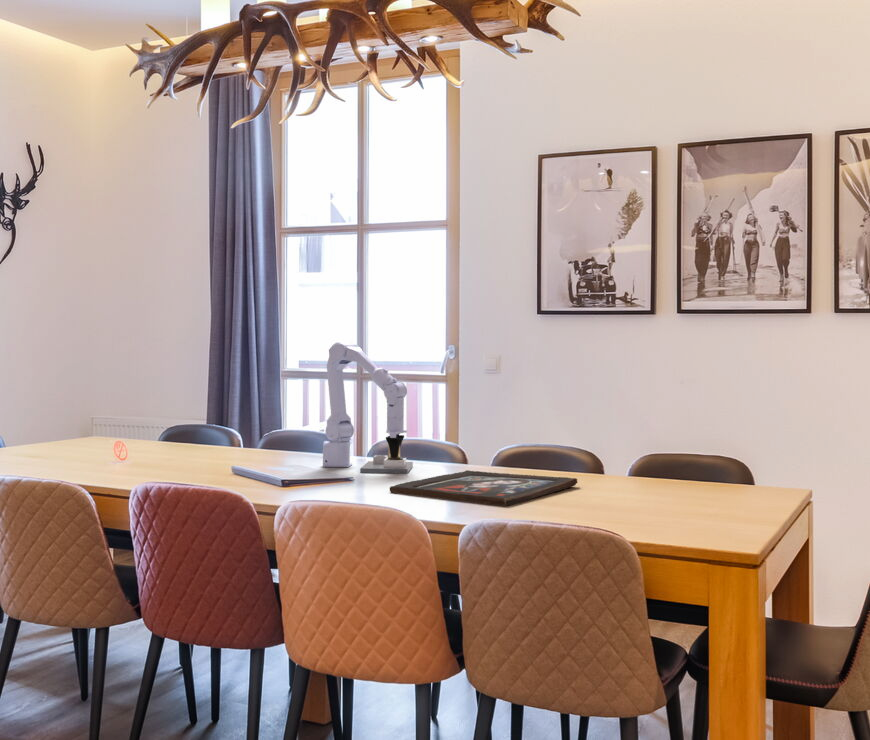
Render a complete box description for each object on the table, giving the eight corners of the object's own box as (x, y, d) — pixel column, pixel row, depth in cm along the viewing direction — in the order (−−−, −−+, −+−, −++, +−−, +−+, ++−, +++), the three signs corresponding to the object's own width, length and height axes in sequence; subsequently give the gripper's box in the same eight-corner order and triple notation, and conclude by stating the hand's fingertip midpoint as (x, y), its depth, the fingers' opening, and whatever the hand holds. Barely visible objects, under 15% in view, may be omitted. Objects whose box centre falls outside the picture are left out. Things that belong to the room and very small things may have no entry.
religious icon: (580, 486, 266) (580, 476, 266) (508, 509, 229) (508, 497, 229) (468, 477, 289) (468, 467, 289) (386, 496, 252) (386, 485, 251)
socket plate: (360, 472, 293) (360, 460, 293) (368, 465, 313) (368, 454, 313) (407, 473, 292) (407, 461, 292) (412, 466, 312) (412, 454, 312)
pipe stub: (388, 463, 298) (388, 446, 298) (388, 462, 302) (388, 444, 302) (400, 463, 298) (400, 446, 298) (400, 462, 302) (400, 444, 302)
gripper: (404, 419, 292) (404, 459, 292) (408, 416, 306) (408, 454, 307) (383, 418, 292) (383, 459, 293) (388, 415, 307) (388, 454, 307)
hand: (395, 457), depth 300 cm, fingers closed on pipe stub, 4 cm apart
